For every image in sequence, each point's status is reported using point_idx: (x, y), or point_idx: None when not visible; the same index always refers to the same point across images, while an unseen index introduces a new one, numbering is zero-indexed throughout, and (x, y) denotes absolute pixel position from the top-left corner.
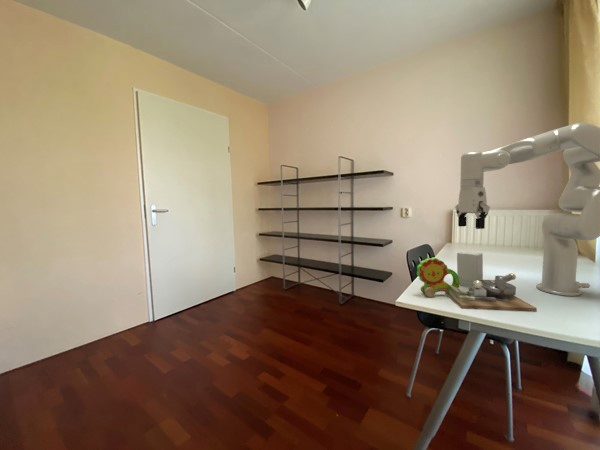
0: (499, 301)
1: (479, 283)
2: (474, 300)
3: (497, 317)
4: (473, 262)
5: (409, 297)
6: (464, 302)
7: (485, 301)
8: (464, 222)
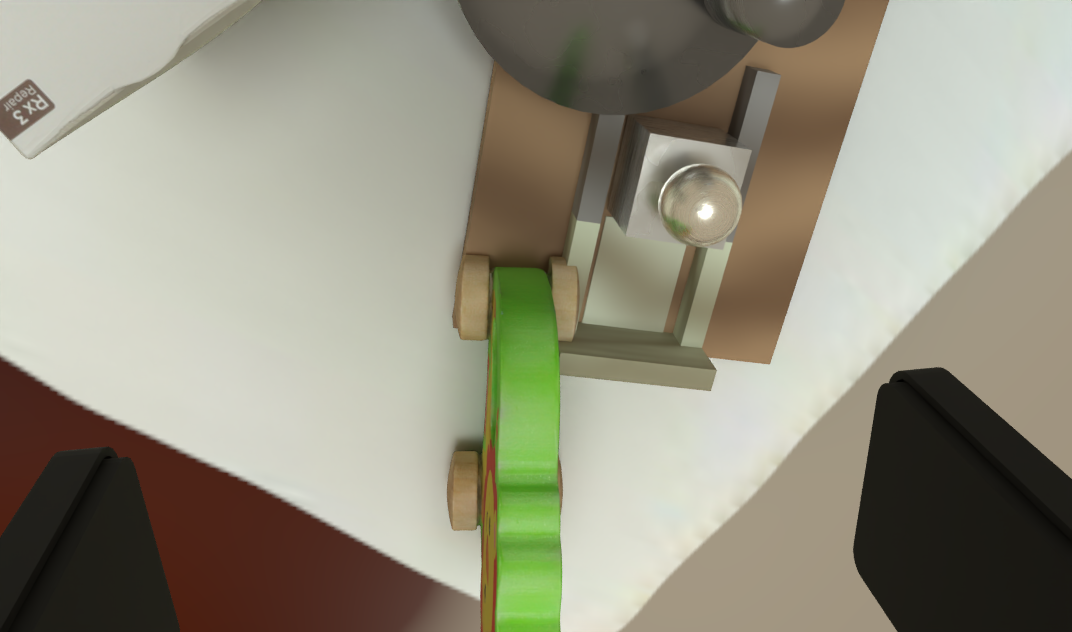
0: None
1: (738, 217)
2: None
3: (930, 213)
4: None
5: None
6: (731, 322)
7: None
8: (108, 601)
